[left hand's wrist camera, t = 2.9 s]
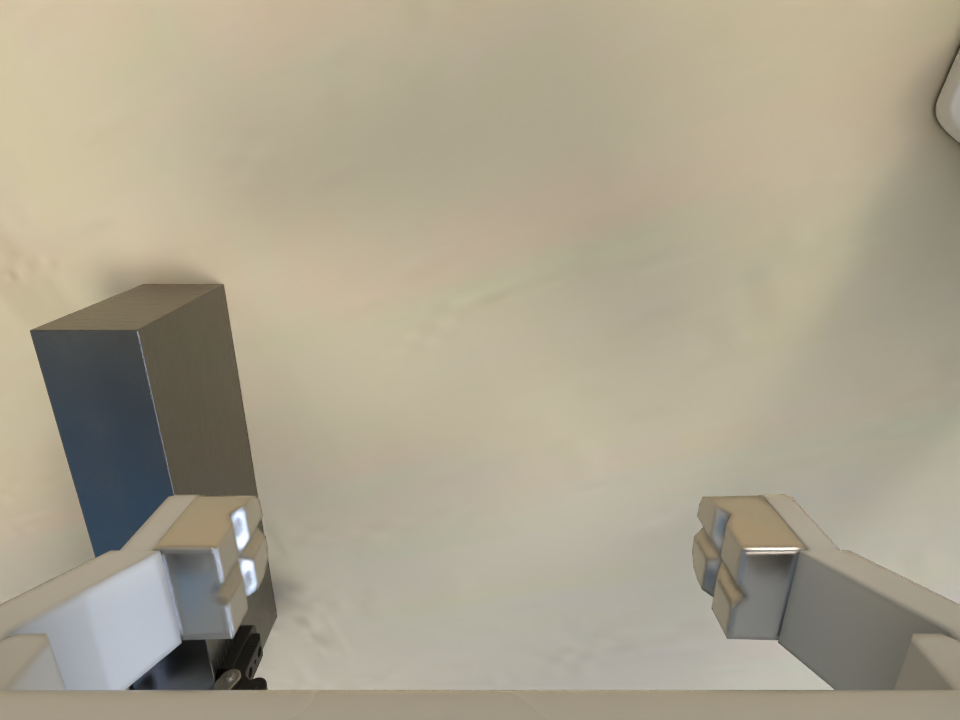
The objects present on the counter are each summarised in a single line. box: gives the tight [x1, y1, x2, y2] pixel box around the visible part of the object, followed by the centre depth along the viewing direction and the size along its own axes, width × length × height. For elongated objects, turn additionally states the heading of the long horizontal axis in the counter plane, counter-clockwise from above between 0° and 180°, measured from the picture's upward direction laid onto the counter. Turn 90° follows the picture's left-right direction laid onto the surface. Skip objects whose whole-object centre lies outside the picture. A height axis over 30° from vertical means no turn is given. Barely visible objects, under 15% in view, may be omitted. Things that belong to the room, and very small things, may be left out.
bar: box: [30, 284, 277, 690], centre depth 36 cm, size 26×5×10 cm, turn 0°
